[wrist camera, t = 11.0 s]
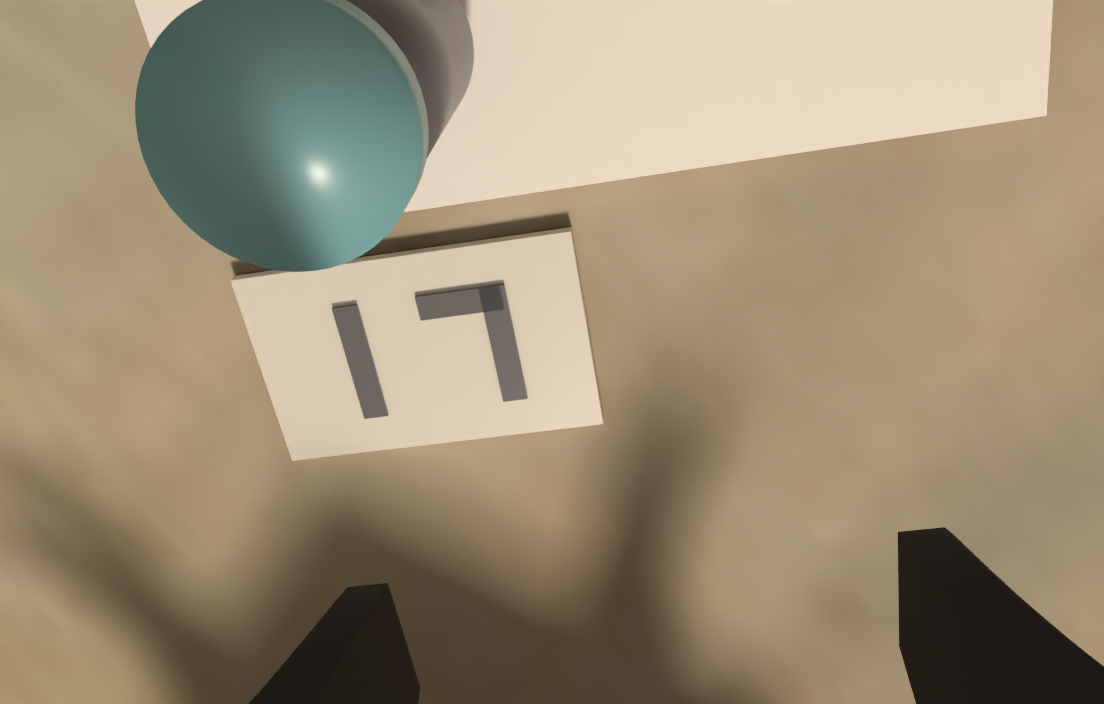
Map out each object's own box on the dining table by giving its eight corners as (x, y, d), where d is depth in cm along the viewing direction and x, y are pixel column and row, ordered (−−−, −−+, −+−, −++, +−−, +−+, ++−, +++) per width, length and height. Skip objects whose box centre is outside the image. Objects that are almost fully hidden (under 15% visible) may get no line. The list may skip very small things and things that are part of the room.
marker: (464, -73, 18) (383, -33, 12) (498, 123, 20) (443, 255, 13) (276, -43, 19) (93, 11, 12) (324, 145, 20) (187, 286, 14)
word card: (571, 227, 21) (570, 232, 21) (603, 417, 23) (603, 425, 23) (235, 275, 22) (229, 281, 22) (295, 454, 24) (290, 462, 24)
